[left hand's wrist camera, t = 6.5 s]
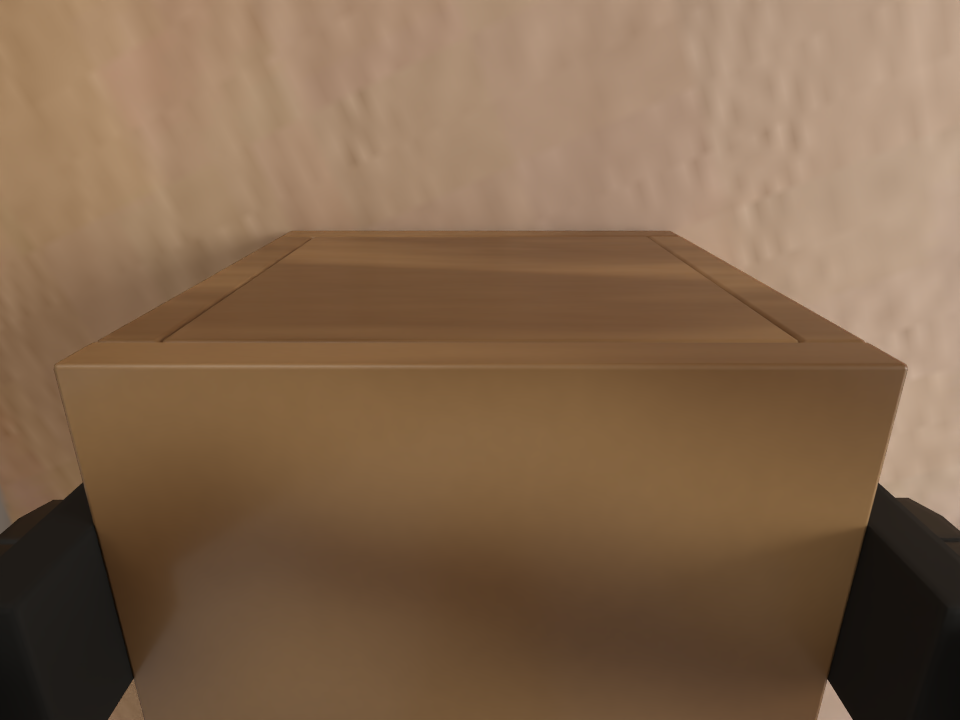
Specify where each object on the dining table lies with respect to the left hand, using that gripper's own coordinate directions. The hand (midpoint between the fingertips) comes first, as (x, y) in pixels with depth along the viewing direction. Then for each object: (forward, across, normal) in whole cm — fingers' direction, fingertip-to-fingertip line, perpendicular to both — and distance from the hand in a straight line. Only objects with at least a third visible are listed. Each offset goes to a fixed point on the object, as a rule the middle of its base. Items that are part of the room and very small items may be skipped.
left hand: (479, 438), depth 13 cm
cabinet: (+5, 0, -6) cm, 8 cm away
